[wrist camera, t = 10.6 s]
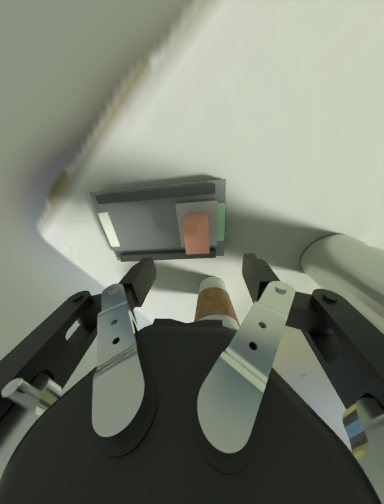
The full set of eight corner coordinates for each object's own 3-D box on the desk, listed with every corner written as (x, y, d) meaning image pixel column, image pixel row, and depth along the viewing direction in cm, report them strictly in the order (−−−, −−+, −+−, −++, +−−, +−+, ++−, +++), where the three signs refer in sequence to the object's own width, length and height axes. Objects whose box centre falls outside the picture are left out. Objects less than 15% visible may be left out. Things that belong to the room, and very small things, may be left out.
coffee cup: (204, 266, 29) (207, 339, 16) (238, 280, 30) (266, 359, 17) (188, 291, 33) (179, 367, 20) (218, 303, 34) (229, 382, 21)
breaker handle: (216, 199, 19) (222, 207, 14) (217, 243, 23) (221, 262, 18) (175, 203, 20) (167, 211, 15) (181, 245, 23) (176, 264, 18)
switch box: (222, 179, 21) (226, 179, 17) (221, 247, 27) (224, 259, 23) (102, 190, 23) (83, 193, 19) (125, 252, 29) (114, 263, 25)
